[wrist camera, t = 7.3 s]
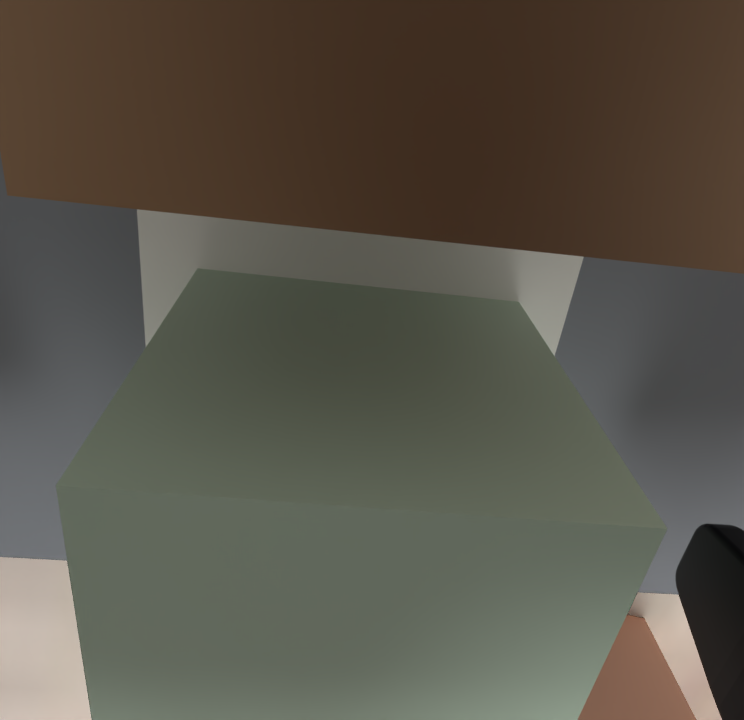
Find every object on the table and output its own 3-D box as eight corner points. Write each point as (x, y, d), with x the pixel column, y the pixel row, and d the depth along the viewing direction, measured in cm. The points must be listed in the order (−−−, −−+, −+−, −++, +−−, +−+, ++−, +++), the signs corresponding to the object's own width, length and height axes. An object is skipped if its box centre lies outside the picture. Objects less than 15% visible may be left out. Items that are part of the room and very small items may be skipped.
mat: (-232, 517, 11) (-266, 545, 10) (-927, -992, 4) (-1132, -1157, 4) (718, 573, 12) (736, 599, 12) (1277, -459, 6) (1382, -516, 5)
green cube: (200, 518, 10) (107, 823, 6) (197, 268, 8) (56, 486, 4) (458, 536, 11) (524, 829, 7) (518, 301, 9) (667, 528, 5)
